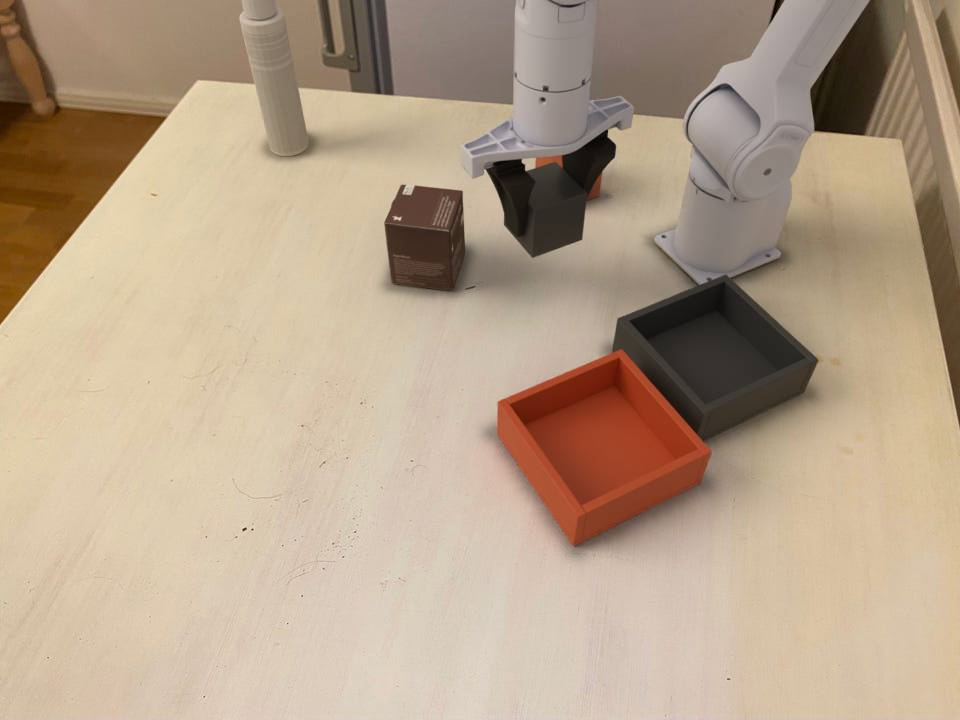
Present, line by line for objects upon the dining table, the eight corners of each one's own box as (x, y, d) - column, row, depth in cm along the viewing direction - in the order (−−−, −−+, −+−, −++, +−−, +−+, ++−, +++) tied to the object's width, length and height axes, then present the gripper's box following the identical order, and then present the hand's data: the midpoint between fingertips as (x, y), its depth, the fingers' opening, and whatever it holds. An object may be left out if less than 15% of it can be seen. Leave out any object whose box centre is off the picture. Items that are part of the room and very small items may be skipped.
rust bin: (615, 381, 68) (621, 348, 65) (701, 482, 61) (712, 451, 58) (496, 433, 65) (497, 401, 62) (573, 547, 58) (578, 517, 55)
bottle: (312, 135, 93) (278, -46, 78) (303, 157, 90) (266, -27, 75) (275, 133, 93) (234, -48, 78) (265, 155, 90) (220, -28, 75)
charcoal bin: (716, 307, 74) (726, 273, 71) (804, 392, 67) (819, 359, 64) (611, 351, 70) (617, 318, 67) (693, 446, 64) (703, 413, 61)
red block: (573, 171, 88) (577, 131, 84) (599, 196, 85) (604, 155, 81) (534, 184, 86) (536, 144, 83) (558, 210, 83) (562, 170, 80)
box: (452, 293, 75) (449, 231, 70) (389, 285, 76) (382, 223, 71) (466, 251, 79) (464, 189, 74) (406, 243, 80) (400, 181, 75)
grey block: (552, 208, 73) (555, 161, 69) (582, 240, 70) (587, 192, 66) (503, 225, 71) (504, 177, 68) (532, 258, 68) (534, 210, 65)
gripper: (605, 26, 64) (590, 170, 74) (439, 72, 60) (447, 218, 70) (658, 66, 60) (634, 213, 70) (484, 118, 55) (485, 267, 66)
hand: (543, 219), depth 70 cm, fingers closed on grey block, 5 cm apart
